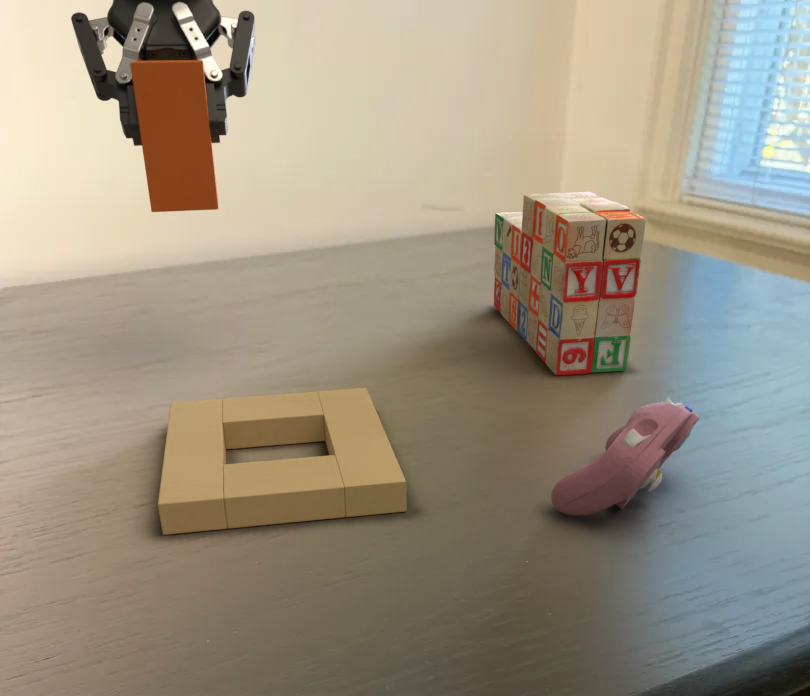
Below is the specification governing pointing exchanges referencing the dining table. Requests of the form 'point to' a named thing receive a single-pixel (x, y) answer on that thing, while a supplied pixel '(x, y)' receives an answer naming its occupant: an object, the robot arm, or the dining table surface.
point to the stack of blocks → (570, 278)
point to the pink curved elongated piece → (627, 460)
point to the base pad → (276, 462)
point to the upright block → (175, 134)
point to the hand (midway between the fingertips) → (175, 135)
